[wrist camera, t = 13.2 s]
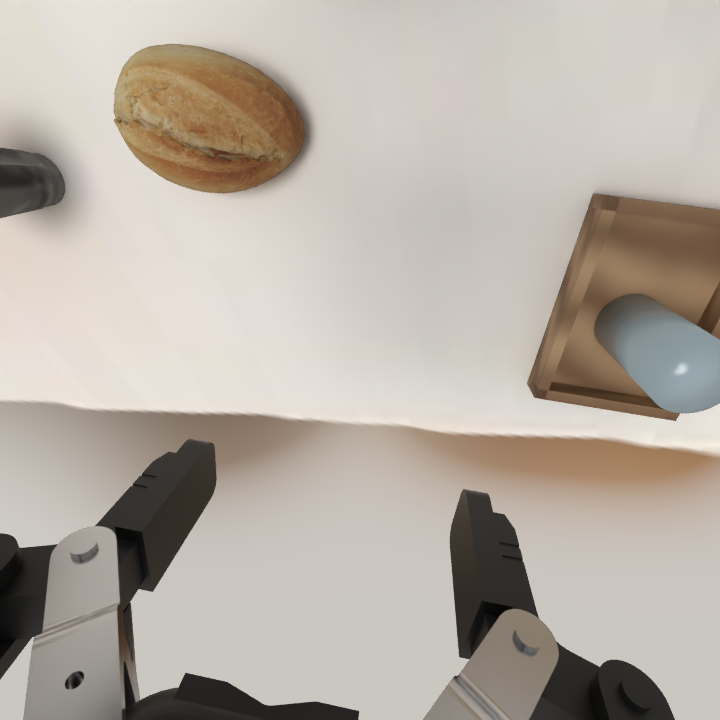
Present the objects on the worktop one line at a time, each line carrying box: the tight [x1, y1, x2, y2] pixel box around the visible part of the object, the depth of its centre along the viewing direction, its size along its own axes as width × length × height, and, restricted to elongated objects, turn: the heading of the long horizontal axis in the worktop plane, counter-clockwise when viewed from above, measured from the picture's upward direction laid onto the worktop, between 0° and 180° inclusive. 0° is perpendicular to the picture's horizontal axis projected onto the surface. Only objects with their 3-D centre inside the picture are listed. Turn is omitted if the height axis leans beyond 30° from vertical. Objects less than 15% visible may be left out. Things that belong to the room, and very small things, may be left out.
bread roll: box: [114, 44, 305, 193], centre depth 31 cm, size 10×15×8 cm, turn 82°
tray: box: [527, 193, 720, 421], centre depth 35 cm, size 18×13×3 cm
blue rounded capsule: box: [594, 294, 720, 413], centre depth 32 cm, size 6×6×10 cm
